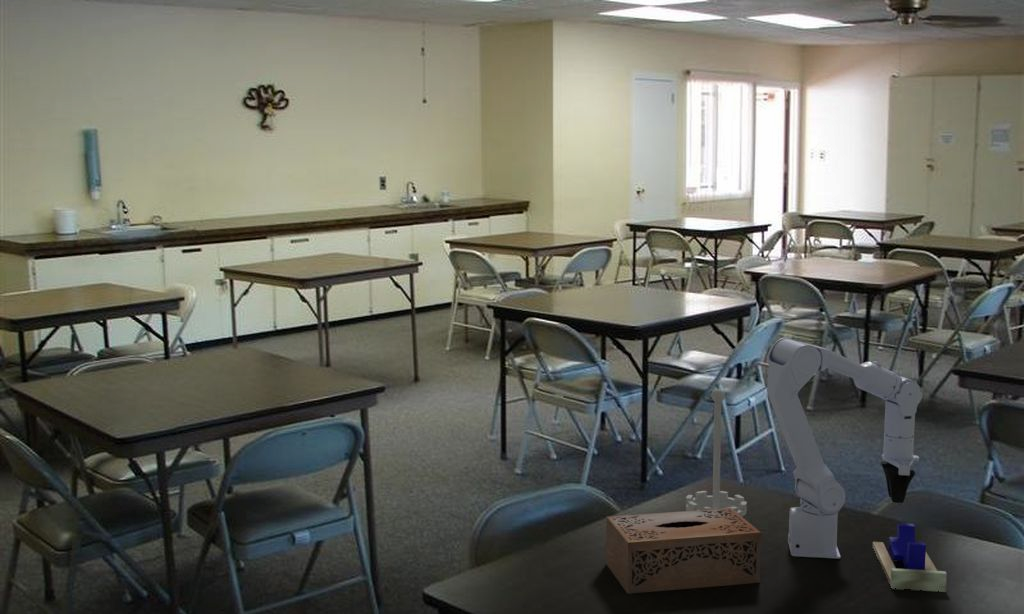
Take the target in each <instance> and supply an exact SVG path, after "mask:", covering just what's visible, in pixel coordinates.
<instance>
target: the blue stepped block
mask: <svg viewBox="0 0 1024 614" xmlns="http://www.w3.org/2000/svg"><path fill="white" fill-rule="evenodd" d="M896 531H897V533H896V537H895V536H894V537H893V536H889V538H888V551H890V552H889V554H890V553H891V554H890V556H891V555H892V556H891V558H892V557H893V558H892V560H893V559H894V560H897V561H903V563H904V565H905V567H906V569H915V570H925V556H926V552H927V545H926V543H925V542H922V541H921V542H920V541H916V526H915V524H914V523H906V522H905V523H904V522H903V523H901V522H899V523H897V529H896ZM894 560H893V561H894ZM903 563H902V564H903ZM904 565H903V566H904ZM905 567H904V568H905Z"/></svg>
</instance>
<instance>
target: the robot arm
mask: <svg viewBox="0 0 1024 614" xmlns="http://www.w3.org/2000/svg"><path fill="white" fill-rule="evenodd" d="M765 358H766V361H767V364H768V371H767V372H768V373H767V383H766V392H767V396H768V398H769V401H770V403H771V406H772V409H773V412H774V414H775V416H776V419H777V421H778V424H779V427H780V429H781V431H782V434H783V436H784V439H785V441H786V443H787V444H786V445H787V447H788V449H789V452H790V454H791V457H792V460H793V462H794V464H795V467H796V468H795V469H794V470H793V472H792V474H793V477H794V490H795V493H796V496H797V497H799V498H800V499H799V500H800V501H799V504H800V506H795V507H790V508H789V514H788V515H789V516H788V517H789V518H788V535H787V544H788V547H789V551H790V555H791V556H792V557H799V558H800V557H803V558H816V559H817V558H820V559H821V558H822V559H838V560H840V559H841V554H840V551H839V548H838V545H837V543H838V541H837V540H838V516H839V515H838V514H839V512H840V510H841V509H842V507H843V506H844V504H845V502H846V491H845V489H844V487H843V486H842V485H840V483H838V481H836V478H835V475H834V474H833V472H831V470H830V469H829V468H828V466H826V464H825V463H824V460H823V458H822V455H821V452H820V450H819V446H818V445H817V442H816V439H815V437H814V434H813V432H812V429H811V426H810V423H809V421H808V418H807V416H806V413H805V411H804V409H803V405H802V403H801V400H800V398H799V395H798V394H799V392H800V391H801V389H802V388H803V387H805V385H806V384H807V383H808V382H809V381H810V379H812V378H813V376H814V375H815V374H816V373H817V372H818V371H819V372H824V371H825V370H826V369H829V370H831V371H833V372H836V373H838V374H841V375H844V376H846V377H848V378H851V379H853V383H854V385H855V387H856V388H858V389H860V390H861V391H864V392H866V393H869V394H871V395H873V396H875V397H878V398H880V399H882V400H883V401H884V402H885V405H884V428H883V429H884V430H883V432H884V433H883V450H882V452H883V453H881V458H882V461H880V465H881V467H882V470H883V472H884V475H885V479H886V480H885V481H886V487H887V493H888V496H889V498H891V501H892V503H899V504H900V503H901V504H903V503H904V502H905V498H906V495H907V491H908V487H909V485H910V483H911V481H912V479H913V478H914V477H915V475H916V471H915V470H913V469H911V466H912V464H913V463H914V462H919V461H920V456H918V455H914V446H915V445H914V443H915V422H916V421H915V419H916V413H917V411H918V410H917V408H918V405H919V404H920V403H921V401H922V399H923V394H924V393H923V392H922V391H921V387H920V385H919V384H918V382H917V381H915V380H914V379H911V378H909V377H908V378H907V377H905V376H901V372H899V371H897V370H893V371H891V370H889V369H887V368H885V367H883V364H882V363H881V362H878V361H876V360H873V361H872V362H871V361H865V362H862V363H860V364H859V363H857V361H853V360H852V359H849V358H847V357H846V356H843V355H841V354H839V353H837V352H834V351H833V350H831V349H828V348H825V347H823V346H818V345H815V344H811V343H807V342H804V341H800V340H797V341H796V340H794V339H793V338H791V337H781V338H779V339H777V340H776V341H775V342H774V343H773V345H772V346H771V347H770V350H769V352H768V353H767V355H766V357H765Z"/></svg>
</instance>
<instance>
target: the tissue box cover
mask: <svg viewBox="0 0 1024 614" xmlns="http://www.w3.org/2000/svg"><path fill="white" fill-rule="evenodd" d="M605 524H606V534H605V535H606V538H605V539H606V543H605V545H606V547H605V548H606V554H605V557H606V559H605V560H606V561H605V562H606V564H605V565H606V566H607V568H608V569H609V570H610V571H611V573H612V575H613V576H614V577H615V579H616V580H617V581H618V582H619V584H620V586H621V587H622V588H623V589H624V591H625V592H626V593H627V594H628V595H629V594H638V593H639V594H641V593H651V592H653V593H654V592H665V591H674V590H675V591H676V590H685V589H687V590H689V589H699V588H710V587H711V588H712V587H721V586H735V585H736V586H737V585H746V584H747V585H748V584H757V583H760V582H761V554H762V553H761V550H762V542H761V541H762V532H761V531H760V530H758V529H757V527H756V526H754V525H753V524H751V523H750V522H749V521H748V520H747V519H745V518H744V516H743V517H742V516H740V515H739V514H738V513H737V512H736V511H734V510H733V509H732V508H722V509H708V510H694V511H686V510H684V511H683V510H682V511H681V510H680V511H669V512H668V511H667V512H656V513H655V512H654V513H653V512H652V513H641V514H640V513H639V514H627V515H626V514H625V515H613V516H606V523H605Z"/></svg>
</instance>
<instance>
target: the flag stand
mask: <svg viewBox="0 0 1024 614" xmlns="http://www.w3.org/2000/svg"><path fill="white" fill-rule="evenodd" d="M710 397H711V400H712V401H713V403H714V406H713V411H714V412H713V452H712V453H713V455H712V456H713V457H712V459H713V462H712V463H713V464H712V495H708V491H706V490H701V491H695V497H694V495H693V494H688V495H686V498H685V511H694V510H708V509H722V508H732V509H733V510H734V511H736V512H737V513H738V514H739V515H740V516H742V517H743V518H744V516H746V514H747V511H748V510H747V508H748V504H747V503H748V501H745V497H744V496H742V495H740V494H735V495H734V496H733V497H729V491H724V490H720V489H721V453H722V452H721V449H722V448H721V447H722V446H721V445H722V444H721V443H722V404H723V403H722V402H723V401H724V400H725V397H726V394H725V391H724V390H723V389H722V388H715V389H714V390H712V391H711V394H710Z"/></svg>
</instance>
